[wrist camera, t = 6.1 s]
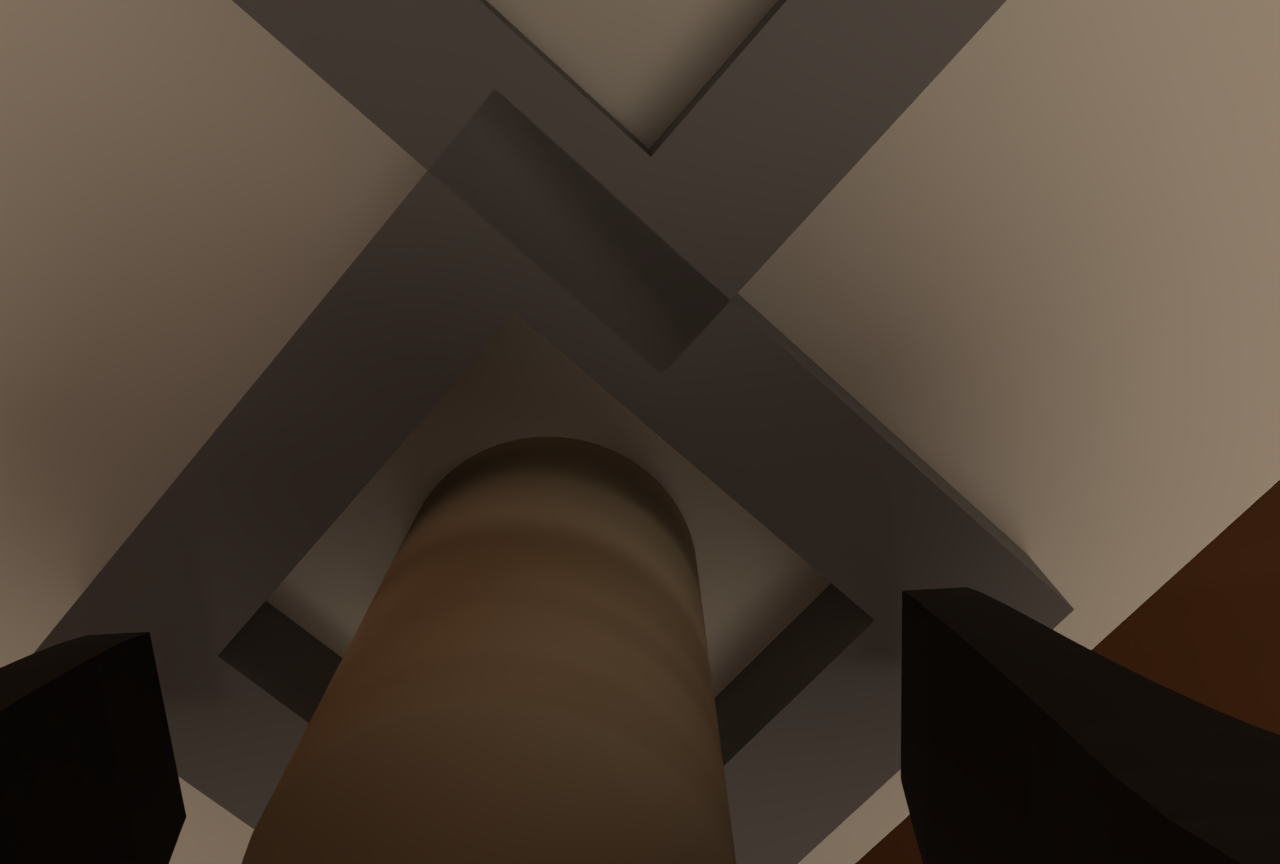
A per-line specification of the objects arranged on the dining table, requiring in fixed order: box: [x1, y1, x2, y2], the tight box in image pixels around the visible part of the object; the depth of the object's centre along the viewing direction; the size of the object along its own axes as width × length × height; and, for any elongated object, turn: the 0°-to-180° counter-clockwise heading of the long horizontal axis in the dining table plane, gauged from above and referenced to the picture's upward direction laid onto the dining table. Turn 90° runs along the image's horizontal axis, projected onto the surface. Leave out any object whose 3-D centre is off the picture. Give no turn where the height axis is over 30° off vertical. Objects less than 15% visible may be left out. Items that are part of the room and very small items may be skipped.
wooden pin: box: [242, 437, 736, 864], centre depth 11 cm, size 4×4×6 cm
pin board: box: [0, 0, 1280, 864], centre depth 10 cm, size 22×15×7 cm
